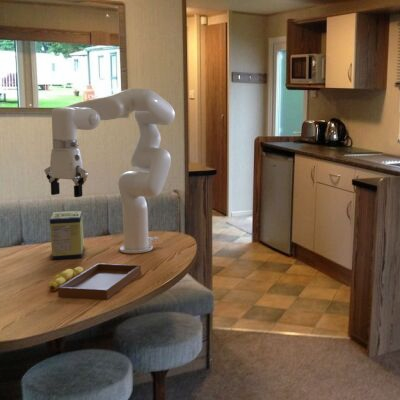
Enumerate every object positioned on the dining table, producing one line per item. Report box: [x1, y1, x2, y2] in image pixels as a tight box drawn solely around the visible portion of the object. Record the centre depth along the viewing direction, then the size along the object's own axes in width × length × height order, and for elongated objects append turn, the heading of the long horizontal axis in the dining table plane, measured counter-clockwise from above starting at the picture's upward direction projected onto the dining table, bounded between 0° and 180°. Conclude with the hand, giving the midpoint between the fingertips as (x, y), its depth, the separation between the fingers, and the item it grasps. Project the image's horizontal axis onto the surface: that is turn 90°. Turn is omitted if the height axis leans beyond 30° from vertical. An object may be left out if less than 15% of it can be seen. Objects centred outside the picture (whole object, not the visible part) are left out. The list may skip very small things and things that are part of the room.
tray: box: [57, 262, 142, 300], centre depth 183 cm, size 26×16×3 cm, turn 175°
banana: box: [47, 265, 85, 292], centre depth 184 cm, size 20×4×4 cm, turn 175°
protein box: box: [49, 209, 85, 261], centre depth 216 cm, size 10×16×16 cm
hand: (66, 195), depth 190 cm, fingers open, 9 cm apart
